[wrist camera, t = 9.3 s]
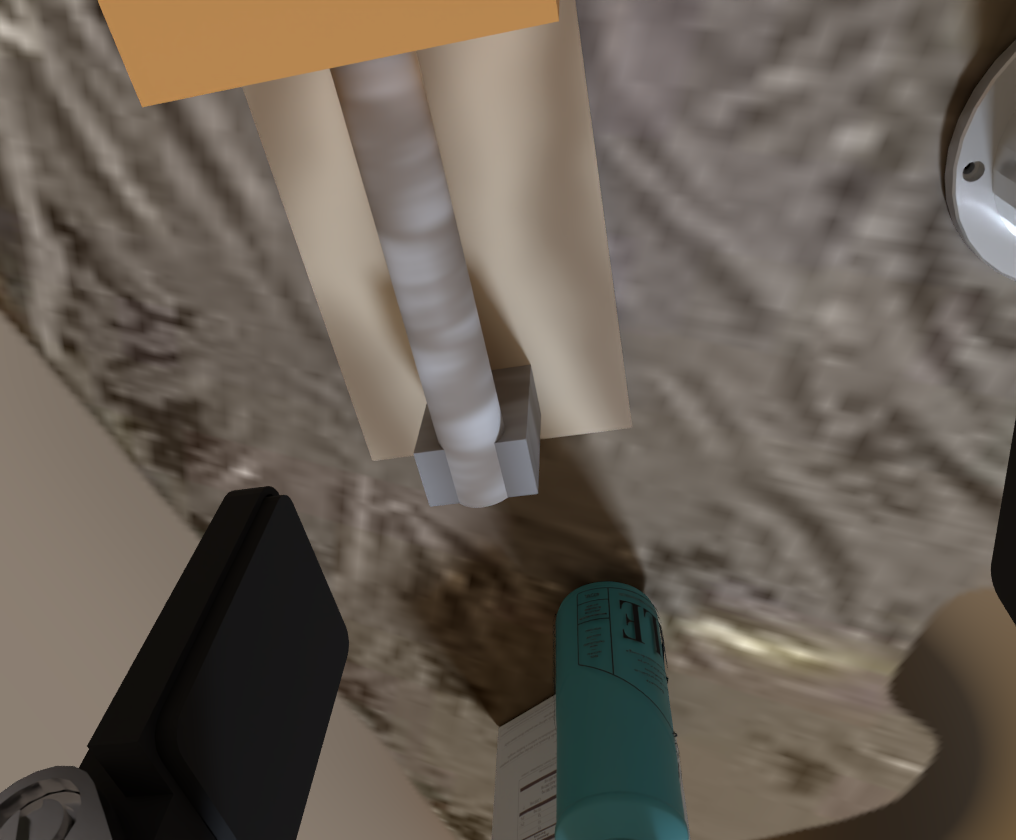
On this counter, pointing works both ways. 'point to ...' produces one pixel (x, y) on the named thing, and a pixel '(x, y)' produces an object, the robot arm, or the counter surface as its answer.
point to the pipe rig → (457, 250)
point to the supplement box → (531, 776)
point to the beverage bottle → (614, 720)
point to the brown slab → (289, 36)
